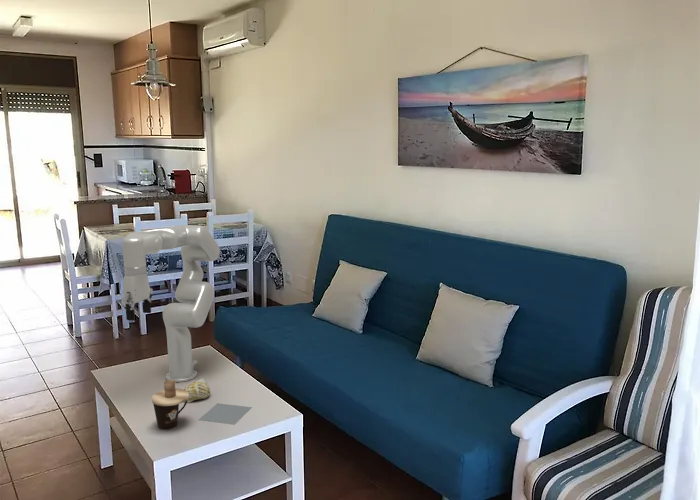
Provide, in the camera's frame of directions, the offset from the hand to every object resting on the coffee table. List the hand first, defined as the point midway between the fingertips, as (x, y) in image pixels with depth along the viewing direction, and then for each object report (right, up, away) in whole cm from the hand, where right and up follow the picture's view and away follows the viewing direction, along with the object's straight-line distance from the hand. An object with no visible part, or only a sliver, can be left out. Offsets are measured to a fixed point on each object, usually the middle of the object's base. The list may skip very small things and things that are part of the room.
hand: (139, 316), depth 217 cm
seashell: (+19, -33, +7) cm, 39 cm away
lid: (+16, -26, -16) cm, 35 cm away
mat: (+33, -35, -6) cm, 48 cm away
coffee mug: (+17, -36, -14) cm, 42 cm away
